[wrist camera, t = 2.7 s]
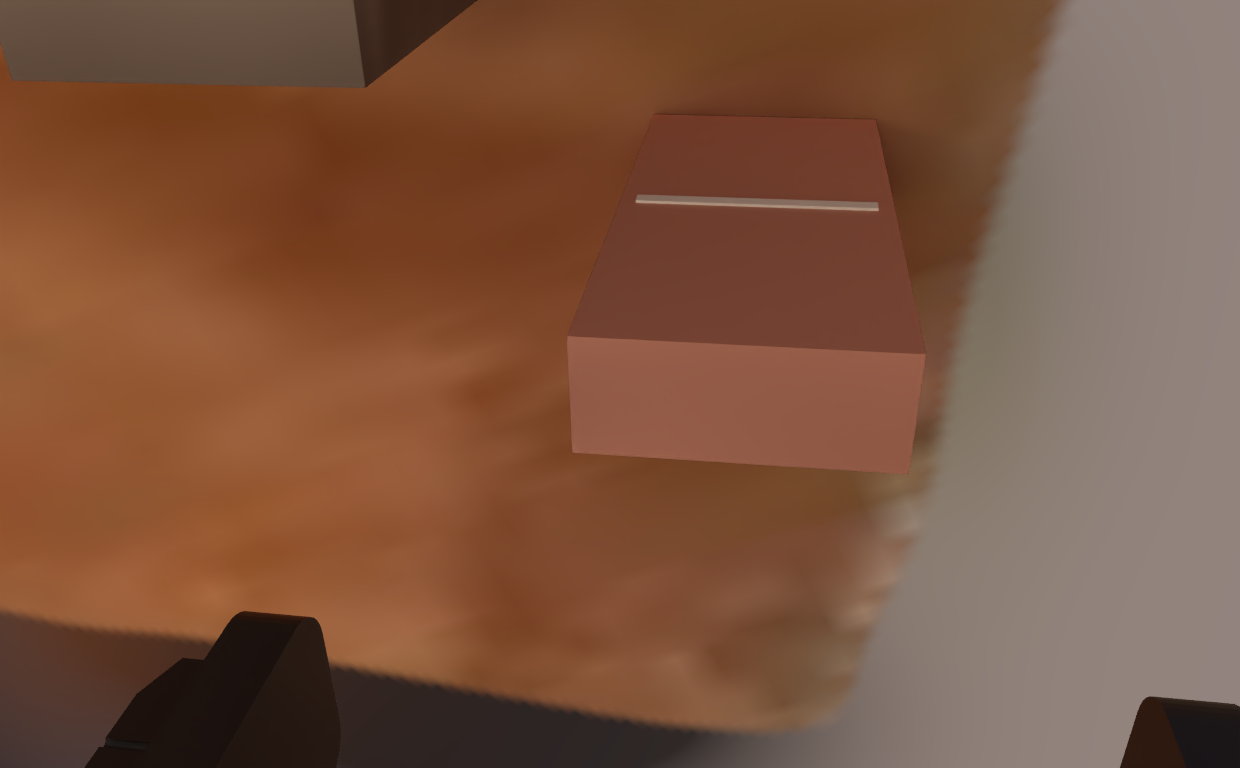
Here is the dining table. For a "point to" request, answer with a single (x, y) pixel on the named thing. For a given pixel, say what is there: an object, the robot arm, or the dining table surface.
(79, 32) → the tile
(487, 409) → the dining table surface
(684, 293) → the end tile
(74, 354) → the dining table surface
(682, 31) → the dining table surface
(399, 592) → the dining table surface
